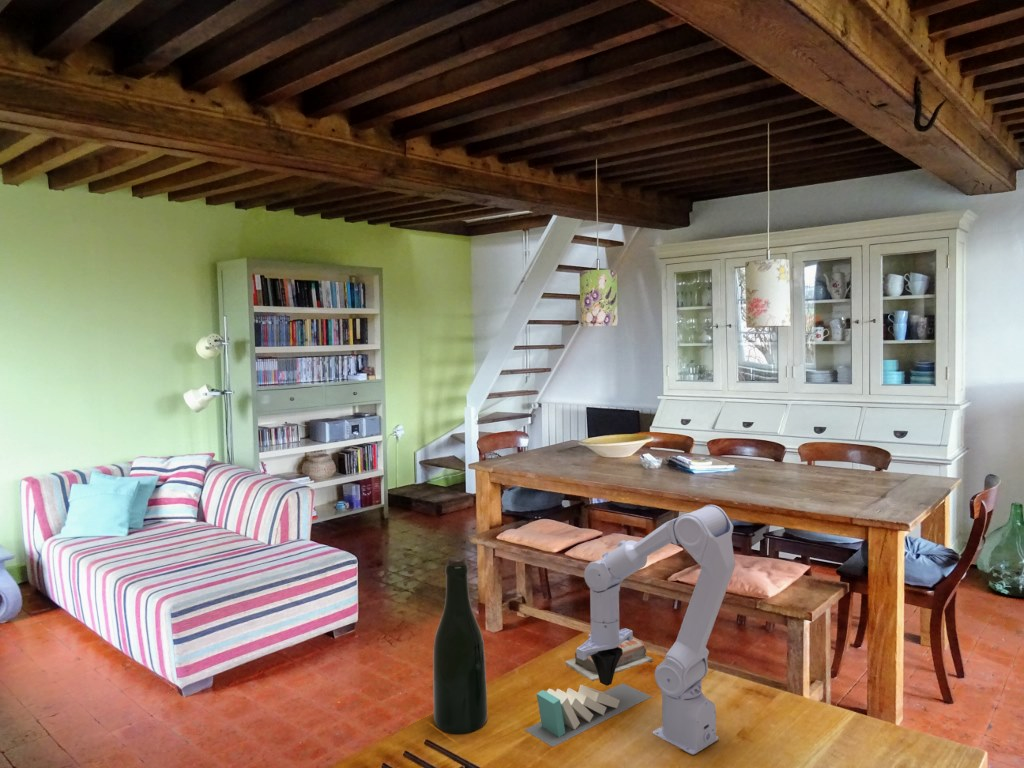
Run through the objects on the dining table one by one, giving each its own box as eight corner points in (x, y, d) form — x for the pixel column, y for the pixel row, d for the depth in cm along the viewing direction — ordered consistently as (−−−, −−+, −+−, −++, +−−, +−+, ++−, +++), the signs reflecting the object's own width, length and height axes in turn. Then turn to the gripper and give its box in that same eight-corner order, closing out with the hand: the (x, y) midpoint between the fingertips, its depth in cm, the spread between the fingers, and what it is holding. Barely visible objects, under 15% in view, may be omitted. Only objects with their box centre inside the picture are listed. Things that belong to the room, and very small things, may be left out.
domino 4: (588, 698, 151) (568, 687, 147) (606, 707, 147) (586, 696, 143) (585, 705, 151) (564, 695, 147) (603, 715, 147) (583, 704, 143)
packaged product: (624, 628, 179) (653, 643, 171) (624, 648, 179) (653, 663, 171) (564, 647, 169) (592, 663, 161) (564, 668, 170) (592, 685, 161)
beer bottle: (498, 722, 146) (494, 557, 143) (455, 743, 139) (450, 570, 136) (465, 703, 154) (461, 546, 151) (423, 721, 147) (418, 557, 144)
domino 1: (548, 722, 144) (542, 689, 143) (565, 733, 140) (560, 699, 139) (541, 726, 143) (536, 693, 142) (559, 737, 139) (553, 703, 138)
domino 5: (601, 691, 154) (580, 684, 149) (619, 700, 150) (598, 693, 146) (598, 699, 153) (577, 692, 149) (617, 708, 149) (595, 701, 145)
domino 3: (575, 705, 149) (557, 688, 145) (593, 714, 145) (575, 697, 141) (571, 712, 148) (553, 695, 145) (589, 722, 144) (571, 705, 141)
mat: (651, 698, 154) (651, 696, 154) (552, 749, 136) (552, 746, 136) (622, 684, 160) (622, 683, 160) (524, 731, 142) (524, 729, 142)
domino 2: (562, 713, 146) (549, 688, 144) (580, 723, 143) (567, 697, 140) (556, 719, 146) (544, 694, 143) (574, 729, 142) (561, 703, 139)
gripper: (614, 603, 157) (615, 665, 158) (565, 621, 148) (566, 687, 149) (640, 612, 152) (640, 677, 153) (590, 632, 143) (591, 700, 144)
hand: (605, 683), depth 151 cm, fingers closed
